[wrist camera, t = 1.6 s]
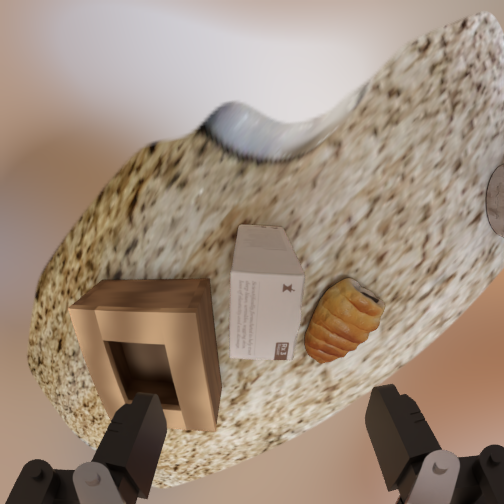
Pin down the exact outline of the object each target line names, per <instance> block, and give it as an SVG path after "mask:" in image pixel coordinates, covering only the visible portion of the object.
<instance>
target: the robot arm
mask: <svg viewBox="0 0 504 504" xmlns="http://www.w3.org/2000/svg"><path fill="white" fill-rule="evenodd" d="M487 214H488V218H489V222H490V224H491V226H492V228H493V230H494V231H495V232H496V233H497V234H498V235H500V236H502V237H504V164H503V165H501V166H499V167H498V168H497V169H496V170H495V172H494V173H493V175H492V177H491V180H490V182H489V186H488V190H487ZM365 424H366V428H367V431H368V433H369V437H370V439H371V442H372V445H373V448H374V451H375V453H376V456H377V459H378V462H379V465H380V468H381V471H382V474H383V477H384V480H385V483H386V486H387V489H388V491H392V490H396V489H398V490H399V492H400V496H399V497H398V499H397V501H396V503H395V504H504V447H502V446H500V445H490V446H488V447H486V448H484V450H483V451H482V452H481V453H480V455H478V456H469V457H457V456H456V455H455V454H454V453H452V452H450V451H447V450H442V448H441V447H440V445H439V443H438V441H437V439H436V438H435V436H434V434H433V432H432V430H431V429H430V427H429V425H428V423H427V421H425V418H424V416H423V414H422V413H421V411H420V409H419V407H418V406H417V404H416V402H415V401H414V400H413V399H411V398H410V397H409V396H408V395H406V394H404V395H400V394H399V392H398V391H397V389H396V387H395V386H394V385H393V384H388V385H383V386H377V387H374V388H373V389H372V392H371V396H370V400H369V404H368V407H367V411H366V415H365ZM166 433H167V421H166V418H165V415H164V412H163V409H162V406H161V403H160V399H159V397H158V395H157V394H150V393H141V392H138V393H137V394H136V395H135V397H134V399H133V401H132V403H131V404H126V403H125V404H124V405H123V406H122V407H120V408H119V409H118V410H117V411H116V412H115V414H114V416H113V418H112V420H111V423H110V424H109V426H108V428H107V431H106V433H105V435H104V437H103V439H102V441H101V443H100V445H99V447H98V449H97V451H96V453H95V455H94V457H93V459H92V461H91V462H86V463H83V464H82V465H80V466H78V467H77V469H76V470H57V469H53V468H52V467H51V466H50V464H48V463H47V462H46V461H44V460H40V459H35V460H32V461H29V462H28V463H27V464H25V466H24V467H23V469H22V471H21V473H20V475H19V477H18V479H17V481H16V482H15V484H14V487H13V489H12V491H11V493H10V495H9V497H8V499H7V501H6V503H5V504H136V500H137V497H139V498H144V499H148V495H149V492H150V488H151V485H152V481H153V478H154V474H155V471H156V467H157V464H158V460H159V457H160V454H161V450H162V447H163V444H164V440H165V437H166Z"/></svg>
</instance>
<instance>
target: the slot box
mask: <svg viewBox="0 0 504 504" xmlns="http://www.w3.org/2000/svg"><path fill="white" fill-rule="evenodd" d="M68 310H69V313H70V317H71V320H72V323H73V327H74V330H75V333H76V336H77V339H78V342H79V345H80V348H81V351H82V354H83V356H84V359H85V362H86V365H87V367H88V370H89V372H90V375H91V377H92V380H93V382H94V385H95V387H96V390H97V392H98V394H99V396H100V399H101V401H102V403H103V405H104V408H105V410H106V412H107V414H108V416H109V418H110V419H112V418H113V416H114V414H115V412H116V411H117V410H118V409H119V408H120V407H122V406H123V405H124V404H125V403H126V404H131V403H132V401H133V399H134V397H135V395H136V394H137V393H138V392H141V393H150V394H157V395H158V397H159V399H160V403H161V406H162V409H163V412H164V415H165V418H166V421H167V428H173V429H184V430H198V431H216V424H217V418H218V411H219V404H220V397H221V391H222V383H221V376H220V368H219V360H218V352H217V344H216V336H215V327H214V318H213V308H212V299H211V289H210V279H154V280H102V281H100V282H99V283H98V284H97V285H95V286H94V287H93V288H92V289H91V290H89V291H88V292H87V293H86V294H85V295H83V296H82V297H81V298H80V299H79V300H77V301H76V302H75V303H74V304H73V305H72V306H70V307H69V308H68Z"/></svg>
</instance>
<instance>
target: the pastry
mask: <svg viewBox="0 0 504 504" xmlns="http://www.w3.org/2000/svg"><path fill="white" fill-rule="evenodd" d="M384 309H385V304H384V302H383V301H382V300H380V299H378V298H376V297H375V294H374V293H373V292H371V291H370V290H367V289H365V288H362V287H360V285H359V283H358V282H357V281H355V280H353V279H350V278H346V279H343V280H341V281H340V282H338V283H337V284H335V285H334V286H332V287H331V288H329V289H328V290H327V291H326V292H325V294H324V295H323V296H322V298H321V299H320V301H319V304H318V306H317V307H316V310H315V312H314V314H313V316H312V319H311V321H310V324H309V327H308V329H307V332H306V334H305V348H306V351H307V353H308V355H309V356H311V357H312V358H314V359H315V360H316V361H317V362H319V363H325V362H331V361H333V360H335V359H337V358H339V357H344V356H345V355H346V354H347V353H348V352H349V351H352V350H355V349H356V348H357V346H358V345H359V344H360V343H363V342H365V341H366V340H367V339H368V336H369V333H370V332H371V331H374V330H376V329H377V328H378V326H379V324H380V317H381V315H382V314H383V312H384Z"/></svg>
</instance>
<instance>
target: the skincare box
mask: <svg viewBox="0 0 504 504" xmlns="http://www.w3.org/2000/svg"><path fill="white" fill-rule="evenodd" d="M304 283H305V273H304V271H303V269H302V267H301V264H300V262H299V260H298V258H297V256H296V254H295V252H294V250H293V247H292V245H291V243H290V241H289V239H288V237H287V234H286V232H285V230H284V228H283V227H277V226H263V225H244V224H241V225H239V227H238V233H237V239H236V244H235V250H234V255H233V264H232V268H231V271H230V315H229V353H230V354H229V358H236V359H253V360H293V358H294V351H295V346H296V339H297V333H298V330H299V327H300V322H301V307H302V299H303V292H304Z"/></svg>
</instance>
